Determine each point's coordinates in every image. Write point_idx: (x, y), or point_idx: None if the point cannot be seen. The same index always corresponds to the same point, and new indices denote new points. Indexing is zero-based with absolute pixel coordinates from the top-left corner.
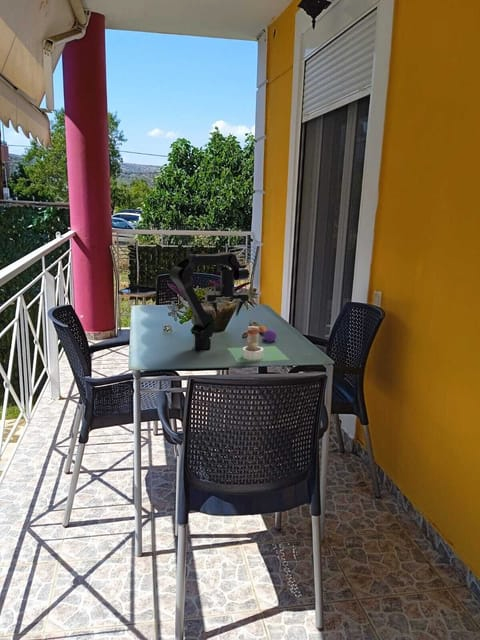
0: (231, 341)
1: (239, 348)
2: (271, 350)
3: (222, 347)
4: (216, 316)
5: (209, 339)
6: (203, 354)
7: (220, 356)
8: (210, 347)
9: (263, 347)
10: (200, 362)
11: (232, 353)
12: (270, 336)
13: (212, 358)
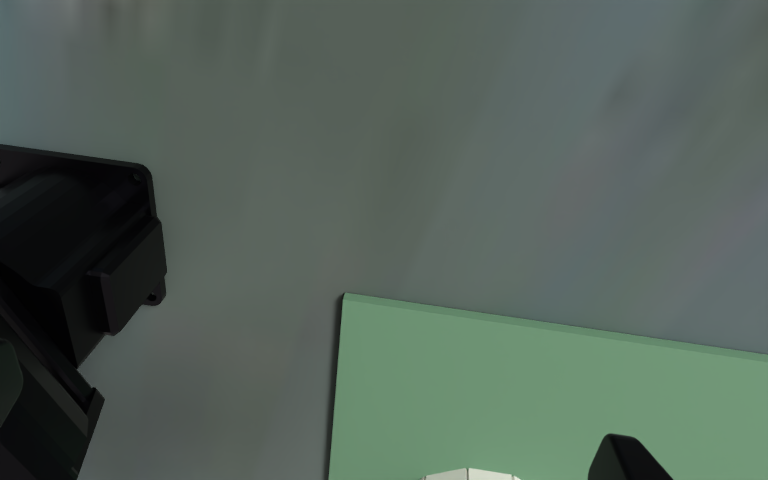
0: (516, 13)
1: (464, 339)
2: (733, 461)
3: (314, 225)
4: (9, 389)
5: (104, 333)
6: (104, 352)
7: (239, 424)
8: (164, 275)
9: (727, 379)
10: (83, 474)
11: (345, 429)
12: None
13: (171, 440)
